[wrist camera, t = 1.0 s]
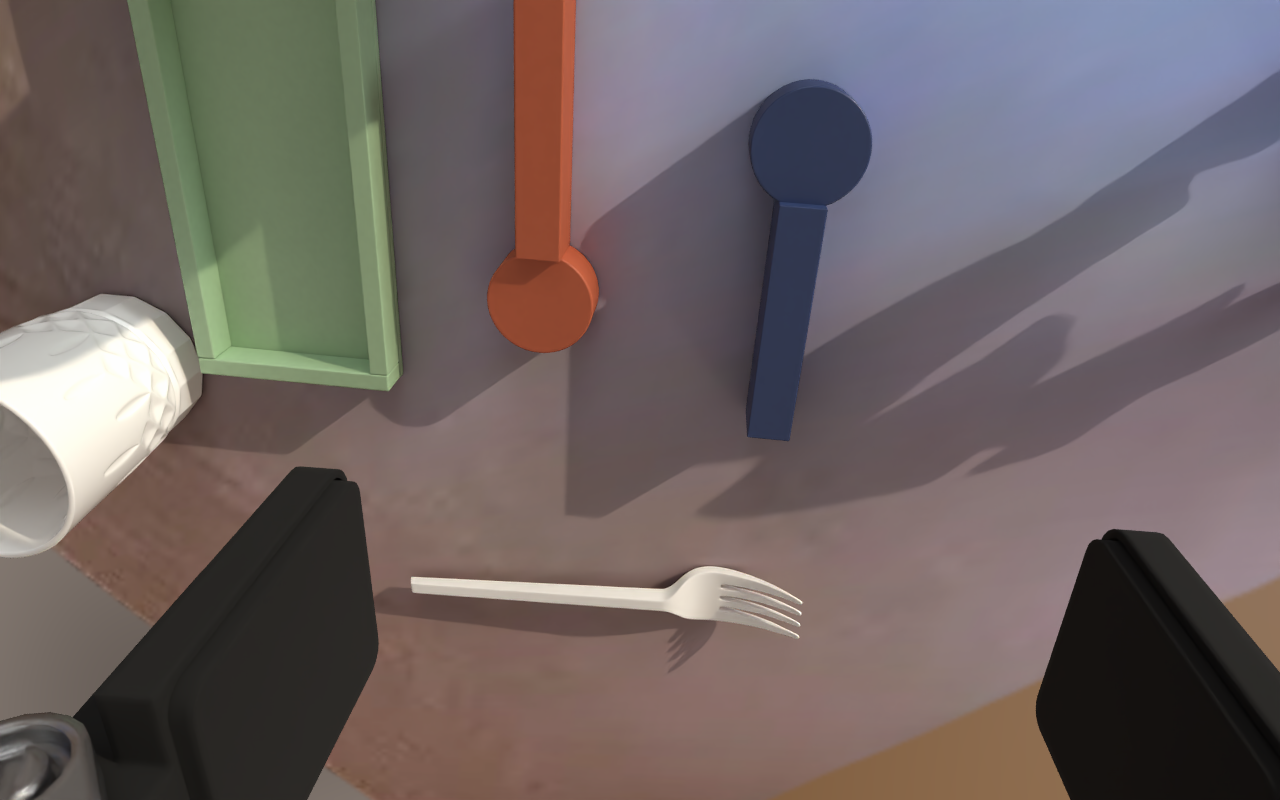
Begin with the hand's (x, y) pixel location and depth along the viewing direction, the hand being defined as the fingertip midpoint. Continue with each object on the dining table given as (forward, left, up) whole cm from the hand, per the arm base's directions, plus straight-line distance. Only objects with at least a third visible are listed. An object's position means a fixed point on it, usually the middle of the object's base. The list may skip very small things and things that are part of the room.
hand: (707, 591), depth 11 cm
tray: (-1, -18, -25) cm, 31 cm away
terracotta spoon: (+1, -7, -25) cm, 26 cm away
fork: (+21, -4, -26) cm, 34 cm away
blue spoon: (+2, +3, -25) cm, 26 cm away
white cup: (+11, -26, -26) cm, 38 cm away
